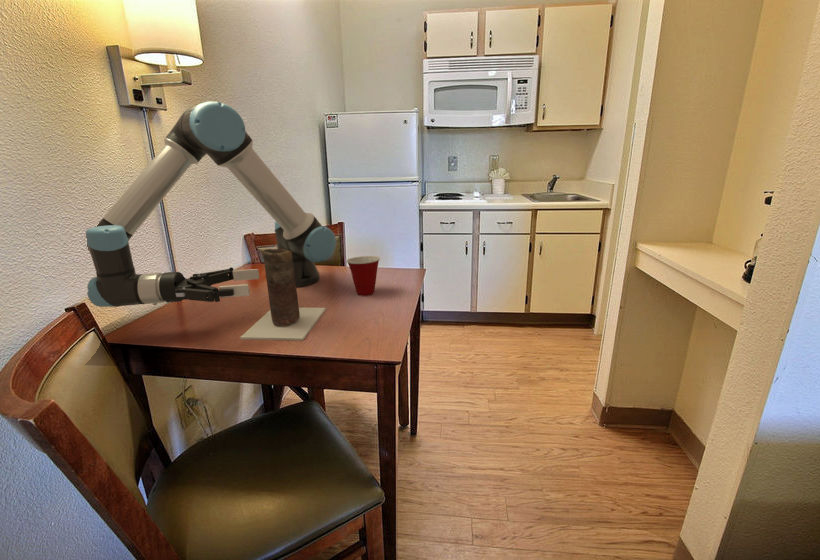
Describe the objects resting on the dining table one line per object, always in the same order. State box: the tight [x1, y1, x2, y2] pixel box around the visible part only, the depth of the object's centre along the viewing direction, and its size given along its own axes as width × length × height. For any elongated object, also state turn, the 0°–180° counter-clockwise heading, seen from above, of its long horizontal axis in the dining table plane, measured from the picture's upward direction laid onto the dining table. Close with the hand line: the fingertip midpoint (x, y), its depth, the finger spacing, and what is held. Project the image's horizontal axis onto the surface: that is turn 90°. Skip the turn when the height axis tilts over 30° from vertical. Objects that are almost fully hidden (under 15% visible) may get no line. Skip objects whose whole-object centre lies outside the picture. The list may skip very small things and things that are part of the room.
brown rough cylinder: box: [262, 248, 300, 326], centre depth 102 cm, size 8×7×20 cm
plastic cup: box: [346, 255, 381, 297], centre depth 126 cm, size 11×11×12 cm
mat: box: [239, 307, 327, 342], centre depth 105 cm, size 20×16×1 cm
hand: (254, 281), depth 100 cm, fingers open, 13 cm apart
